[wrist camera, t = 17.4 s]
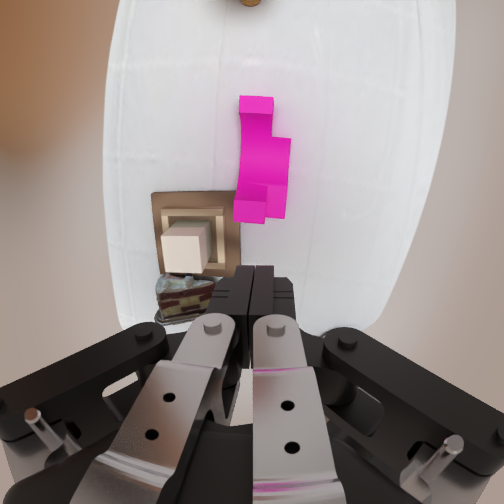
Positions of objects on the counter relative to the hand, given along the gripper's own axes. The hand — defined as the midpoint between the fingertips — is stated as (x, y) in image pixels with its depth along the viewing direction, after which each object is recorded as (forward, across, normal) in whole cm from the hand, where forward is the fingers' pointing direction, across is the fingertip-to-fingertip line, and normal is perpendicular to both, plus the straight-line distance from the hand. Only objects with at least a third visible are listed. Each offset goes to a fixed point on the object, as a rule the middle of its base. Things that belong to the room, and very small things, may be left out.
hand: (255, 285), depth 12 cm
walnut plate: (+30, +11, +8) cm, 33 cm away
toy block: (+31, 0, -3) cm, 31 cm away
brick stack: (+29, +11, +8) cm, 32 cm away
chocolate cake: (+32, +9, +17) cm, 37 cm away
